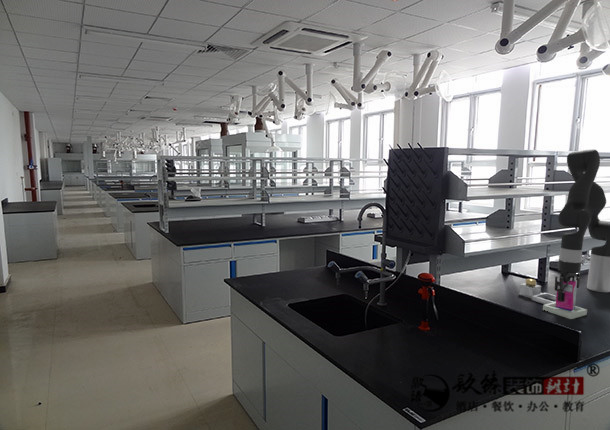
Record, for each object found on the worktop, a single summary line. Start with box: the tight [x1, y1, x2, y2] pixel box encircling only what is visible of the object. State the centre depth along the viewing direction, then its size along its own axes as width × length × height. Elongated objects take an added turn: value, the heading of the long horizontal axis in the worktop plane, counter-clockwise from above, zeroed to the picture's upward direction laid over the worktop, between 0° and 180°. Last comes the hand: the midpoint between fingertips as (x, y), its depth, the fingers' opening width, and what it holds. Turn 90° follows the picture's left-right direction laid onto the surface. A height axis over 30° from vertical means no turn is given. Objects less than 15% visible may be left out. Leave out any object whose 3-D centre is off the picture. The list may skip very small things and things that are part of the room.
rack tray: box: [542, 301, 588, 320], centre depth 162 cm, size 11×11×2 cm
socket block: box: [518, 282, 556, 305], centre depth 177 cm, size 10×17×5 cm, turn 28°
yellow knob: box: [525, 278, 537, 286], centre depth 181 cm, size 4×4×6 cm
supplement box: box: [555, 280, 578, 311], centre depth 161 cm, size 6×6×12 cm
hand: (565, 299), depth 161 cm, fingers closed on supplement box, 6 cm apart
